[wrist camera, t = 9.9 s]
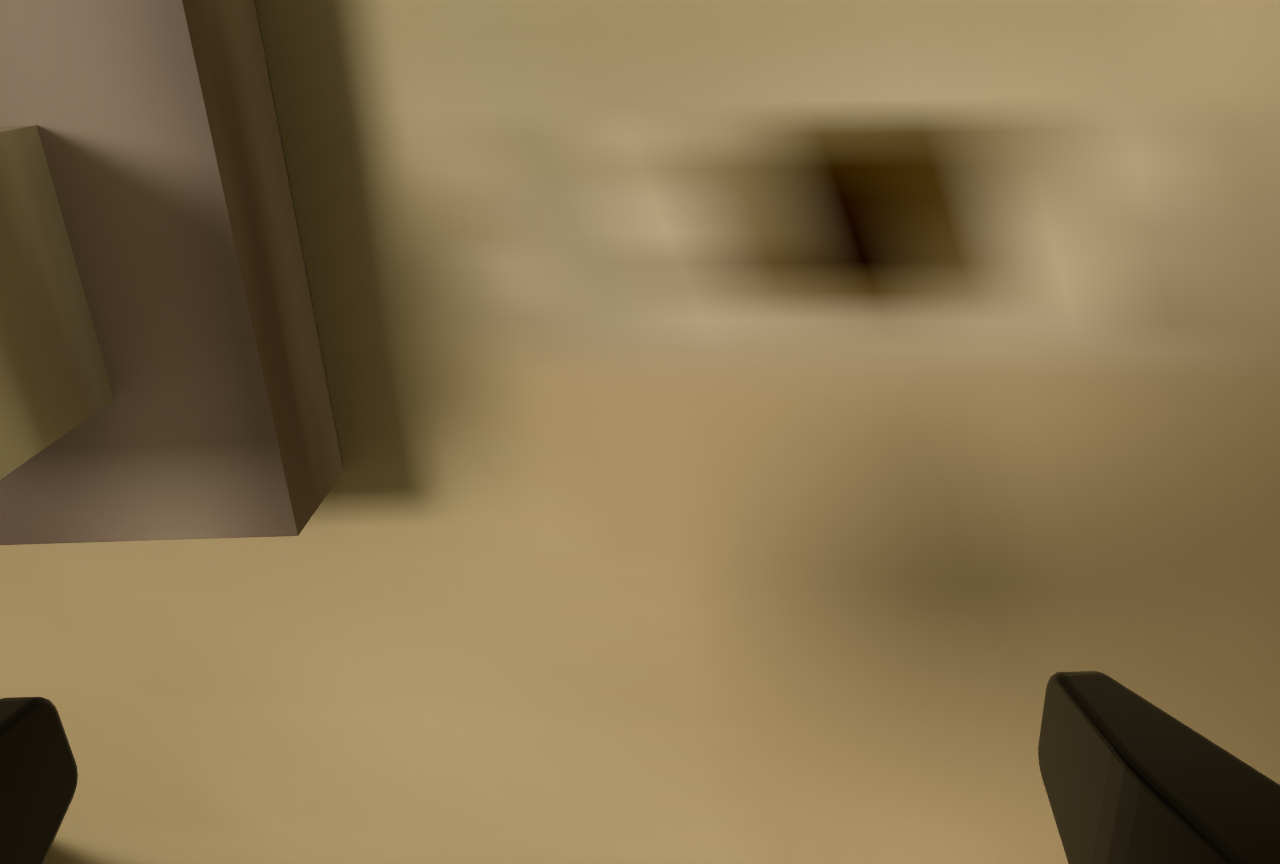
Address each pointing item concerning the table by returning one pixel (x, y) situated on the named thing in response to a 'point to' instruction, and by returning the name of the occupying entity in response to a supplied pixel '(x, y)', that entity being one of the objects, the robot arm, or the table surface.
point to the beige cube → (40, 311)
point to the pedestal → (171, 276)
